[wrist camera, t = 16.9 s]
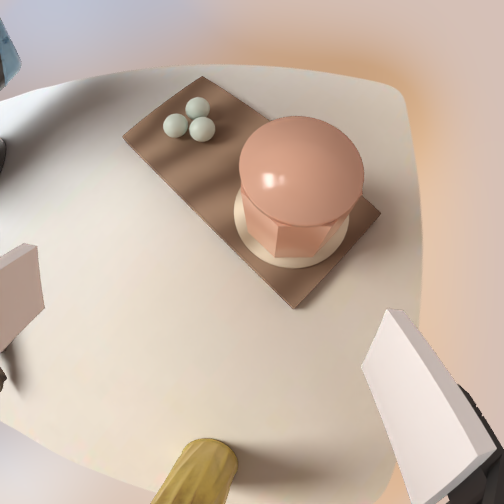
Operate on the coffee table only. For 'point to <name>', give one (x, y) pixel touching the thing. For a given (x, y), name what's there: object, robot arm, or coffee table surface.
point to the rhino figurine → (2, 377)
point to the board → (227, 179)
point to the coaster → (284, 262)
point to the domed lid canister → (298, 184)
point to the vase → (200, 475)
